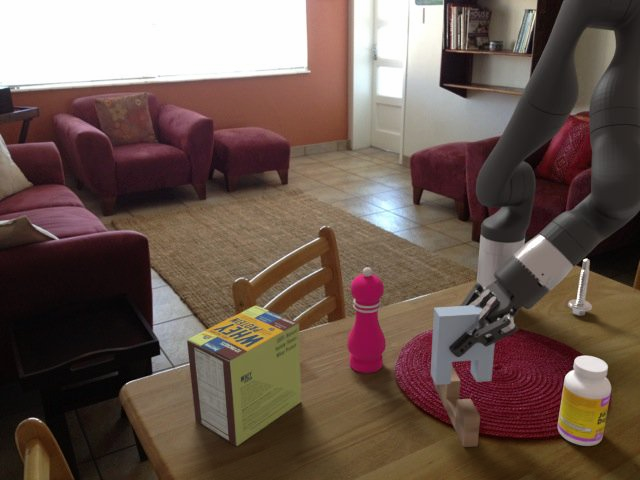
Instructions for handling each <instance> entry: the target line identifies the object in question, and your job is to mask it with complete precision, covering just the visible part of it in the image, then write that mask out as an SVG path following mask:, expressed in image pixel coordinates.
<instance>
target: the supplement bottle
mask: <svg viewBox="0 0 640 480" xmlns="http://www.w3.org/2000/svg"><path fill="white" fill-rule="evenodd" d="M608 368H609V365H608V364H607V363H606V362H605V360H603V359H600V357H599V358H598V357H595V356H592V355H580V356H577V357H575V359H574V362H573V369H572V370H570V371H568V372H567V374H566V375H565V377H564V381H563V388H562V393H561V401H560V406H559V407H560V408H559V414H558V421H557V430H558V433H559V435H560V436H561V437H562V438H564V439H565V440H566V441H567V442H569V443H572V444H575V445H578V446H582V447H583V446H585V447H591V446H596V445H598V444H599V443H600V442H601V441H602V440H603V437H604V431H605V426H606V420H607V416H608V412H609V404H610V399H611V395H612V384H611V383H610V380H609V378H607V375H608V370H609V369H608Z"/></svg>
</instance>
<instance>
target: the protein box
mask: <svg viewBox="0 0 640 480" xmlns="http://www.w3.org/2000/svg"><path fill="white" fill-rule="evenodd" d="M186 343H187V352H188V353H187V354H188V362H189V363H188V364H189V372H190V381H191V390H192V392H191V393H192V399H193V401H192V402H193V408H194V409H193V410H194V411H193V412H194V418H195V420H194V421H195V422H196V423H198V424H200V425H202V426H203V427H205V428H206V429H207V430H210V431H211V432H213V433H214V434H216V435H217V436H218V437H221V438H222V439H223V440H225V441H227V442H228V443H230V444H231V445H233V446H235V447H238V446H240V445H241V444H242V443H244V442H245V441H247V440H248V439H249V438H251V437H252V436H254V435H255V434H257V433H258V432H260V431H261V430H262V429H264V428H266V427H267V426H268V425H270V424H271V423H273V422H274V421H276V420H277V419H278V418H280V417H281V416H283V415H284V414H286V413H287V412H289V411H290V410H291V409H293V408H294V407H296V406H297V405H299V404H300V403H302V389H301V388H302V385H301V383H302V381H301V380H302V379H301V354H300V353H301V352H300V351H301V349H300V346H301V345H300V323H299V322H298V321H296V320H293V319H290V318H288V317H285V316H283V315H281V314H278V313H275V312H272V311H270V310H268V309H266V308H263V307H260V306H258V305H254V306H251V307H248V308H247V309H245V310H243V311H242V312H240V313H238V314H236V315H233V316H232V317H229V318H227V319H225V320H223V321H221V322H220V323H219V322H218V323H217V324H215V325H213V326H210V327H209V328H207V329H205V330H203V331H200V332H199V333H196V334H195V335H193V336H191V337H189V338H188V339H187V340H186Z"/></svg>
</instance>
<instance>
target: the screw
mask: <svg viewBox="0 0 640 480" xmlns="http://www.w3.org/2000/svg"><path fill="white" fill-rule="evenodd" d="M590 263H591V262H590V259H588V258H584V259H583V260H582V266H581V267H582V268H581V269H580V272H579V273H580V274H579V279H578V286H577V288H578V289H577V292H576V293H577V294H576V295H577V296H576V298H575V299H573V298H572V299H571V300H569V301H567V305H568V307H569V308H571V309H572V314H573V315H576V316H578V317H581V316H585V315H586V312H587V311H591V310H592V308H593V306H592V304H591V303H590V302H589V301H587V300H586V298H587V297H586V296H587V291H588V284H589V276H590V265H591V264H590Z"/></svg>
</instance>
